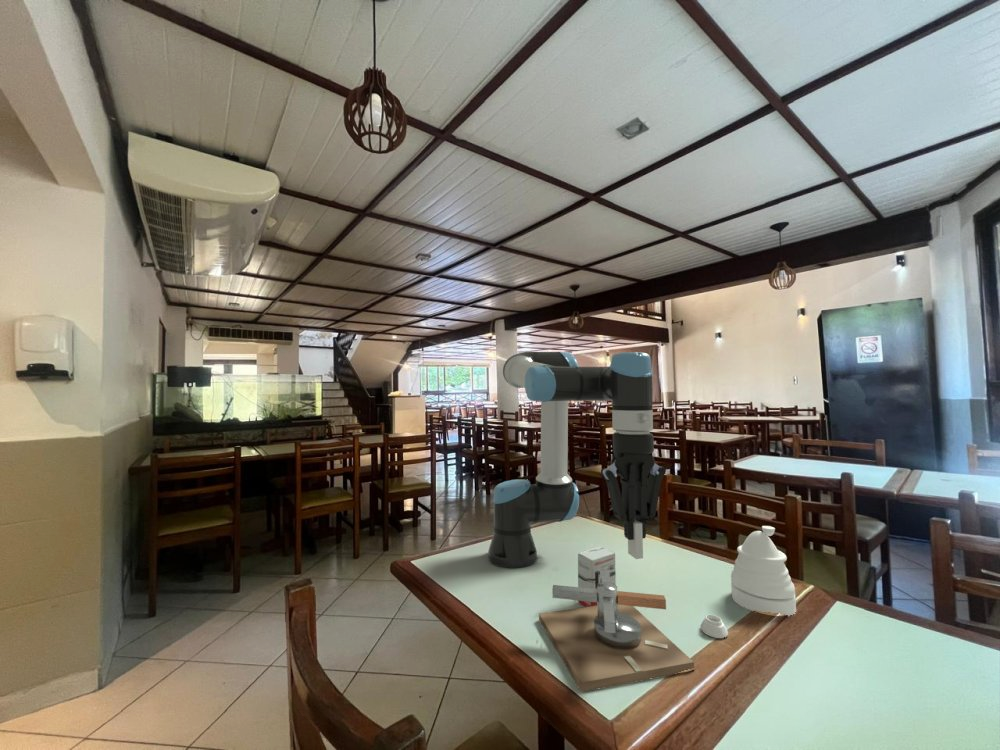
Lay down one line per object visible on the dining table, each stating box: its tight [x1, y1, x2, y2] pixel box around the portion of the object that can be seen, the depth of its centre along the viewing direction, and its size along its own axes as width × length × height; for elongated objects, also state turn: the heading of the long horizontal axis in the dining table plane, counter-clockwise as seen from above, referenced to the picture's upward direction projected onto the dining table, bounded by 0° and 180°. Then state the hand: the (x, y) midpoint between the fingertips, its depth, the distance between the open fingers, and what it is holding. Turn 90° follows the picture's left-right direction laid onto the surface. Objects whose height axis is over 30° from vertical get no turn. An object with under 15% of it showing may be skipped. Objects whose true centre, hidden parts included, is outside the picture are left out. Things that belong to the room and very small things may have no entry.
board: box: [538, 605, 695, 693], centre depth 78 cm, size 22×22×2 cm
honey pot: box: [730, 525, 797, 617], centre depth 94 cm, size 13×13×18 cm
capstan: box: [551, 569, 667, 648], centre depth 78 cm, size 22×22×9 cm
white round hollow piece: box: [700, 614, 729, 639], centre depth 81 cm, size 5×3×5 cm
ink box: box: [577, 545, 617, 607], centre depth 94 cm, size 8×5×12 cm, turn 123°
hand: (635, 555), depth 74 cm, fingers closed
